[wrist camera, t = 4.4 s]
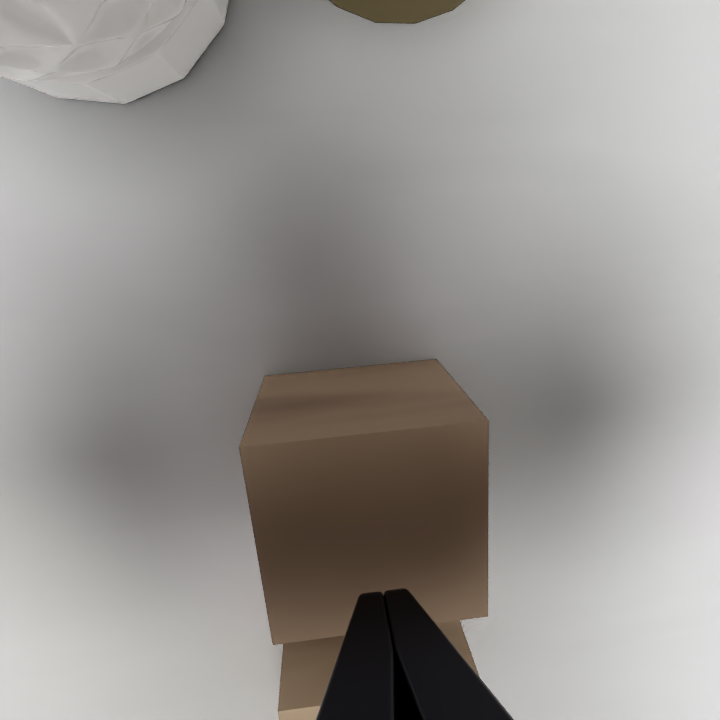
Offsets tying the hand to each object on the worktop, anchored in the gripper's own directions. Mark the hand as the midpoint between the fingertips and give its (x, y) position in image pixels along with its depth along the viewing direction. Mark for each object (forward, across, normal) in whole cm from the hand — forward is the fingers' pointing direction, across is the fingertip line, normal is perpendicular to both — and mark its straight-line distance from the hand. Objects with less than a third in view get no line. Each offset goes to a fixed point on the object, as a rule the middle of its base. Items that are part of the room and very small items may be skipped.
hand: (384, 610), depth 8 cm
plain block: (+6, 0, 0) cm, 7 cm away
